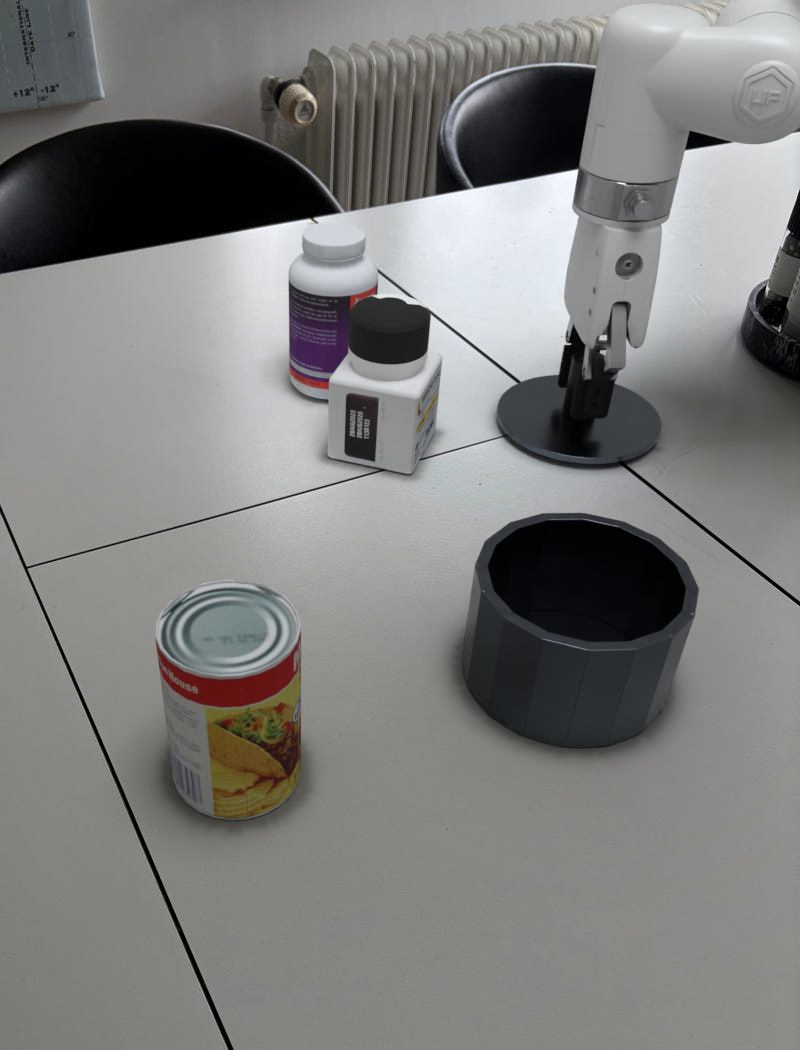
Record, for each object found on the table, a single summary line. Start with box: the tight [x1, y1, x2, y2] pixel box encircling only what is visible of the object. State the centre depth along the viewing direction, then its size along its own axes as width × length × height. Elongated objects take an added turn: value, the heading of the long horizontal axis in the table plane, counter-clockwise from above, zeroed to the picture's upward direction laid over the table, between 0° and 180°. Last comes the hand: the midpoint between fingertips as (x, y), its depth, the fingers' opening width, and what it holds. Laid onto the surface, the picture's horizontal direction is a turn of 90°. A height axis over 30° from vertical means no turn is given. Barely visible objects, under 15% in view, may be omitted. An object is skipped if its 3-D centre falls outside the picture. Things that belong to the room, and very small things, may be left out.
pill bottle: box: [288, 221, 379, 401], centre depth 95 cm, size 8×8×14 cm
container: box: [327, 293, 443, 475], centre depth 87 cm, size 8×8×13 cm
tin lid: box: [496, 350, 662, 465], centre depth 92 cm, size 15×15×7 cm
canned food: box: [154, 578, 302, 821], centre depth 60 cm, size 8×8×12 cm
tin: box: [461, 512, 700, 749], centre depth 68 cm, size 14×14×8 cm
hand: (581, 399), depth 93 cm, fingers open, 4 cm apart
